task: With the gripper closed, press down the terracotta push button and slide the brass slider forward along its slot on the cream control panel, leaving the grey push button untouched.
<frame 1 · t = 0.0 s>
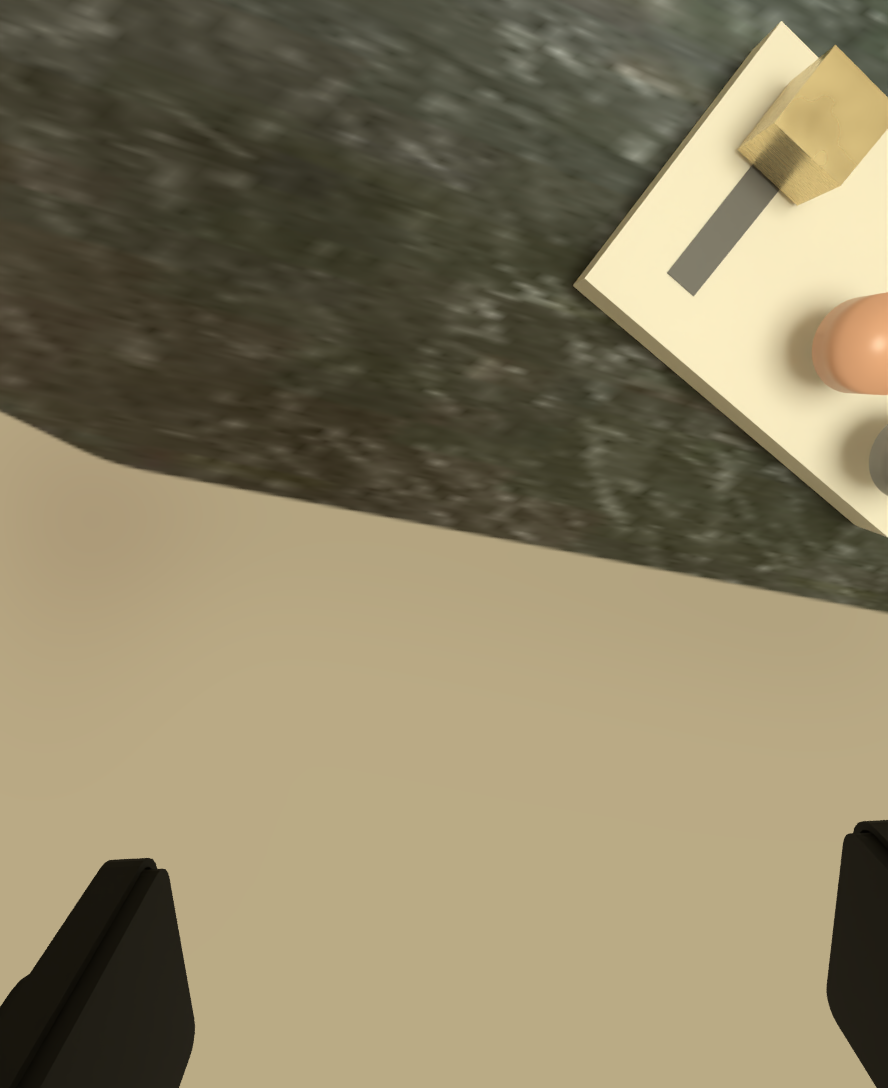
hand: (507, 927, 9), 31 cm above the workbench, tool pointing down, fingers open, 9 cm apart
terracotta button: (864, 345, 32), point 6 cm above the workbench, slide at 0.0 cm
brass slider: (814, 131, 30), point 5 cm above the workbench, slide at 0.0 cm
control panel: (807, 307, 37), on the workbench
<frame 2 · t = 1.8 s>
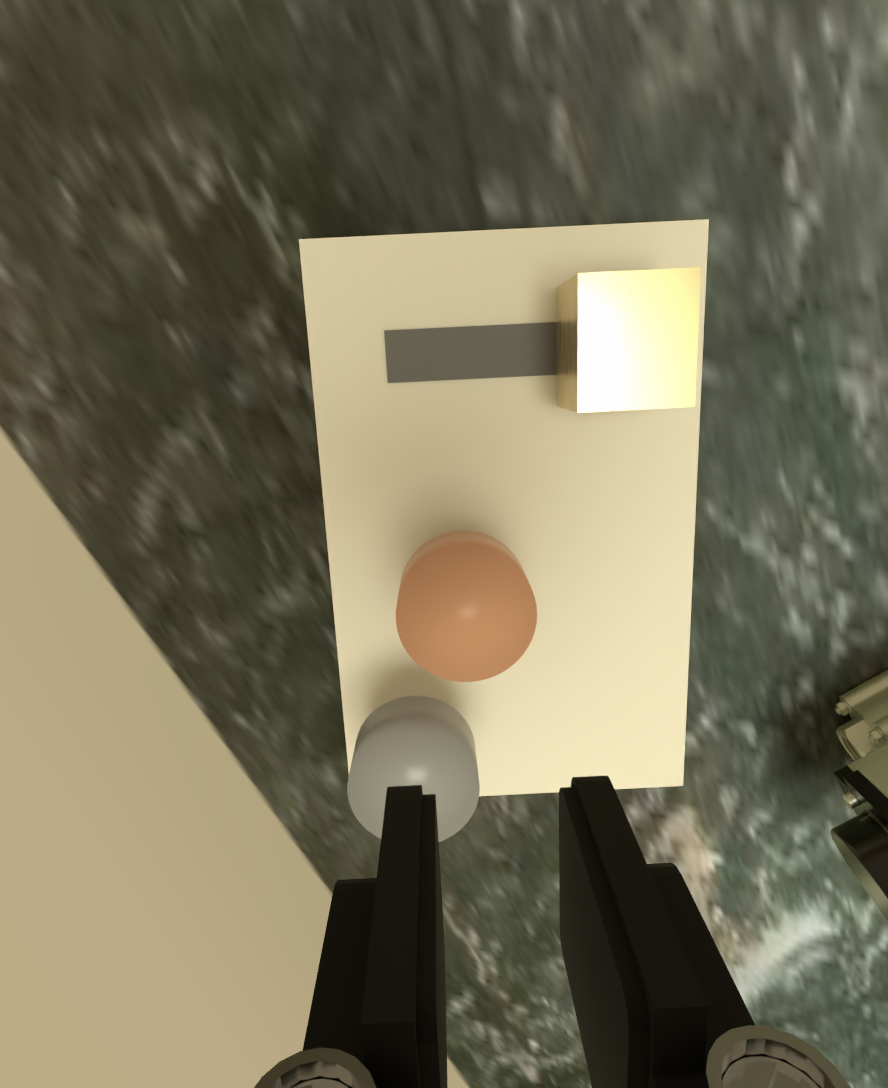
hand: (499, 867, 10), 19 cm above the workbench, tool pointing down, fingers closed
grey button: (415, 758, 24), point 6 cm above the workbench, slide at 0.0 cm
terracotta button: (463, 597, 23), point 6 cm above the workbench, slide at 0.0 cm
brass slider: (621, 343, 22), point 5 cm above the workbench, slide at 0.0 cm
control panel: (503, 524, 29), on the workbench
pneumatic valve: (876, 694, 31), on the workbench
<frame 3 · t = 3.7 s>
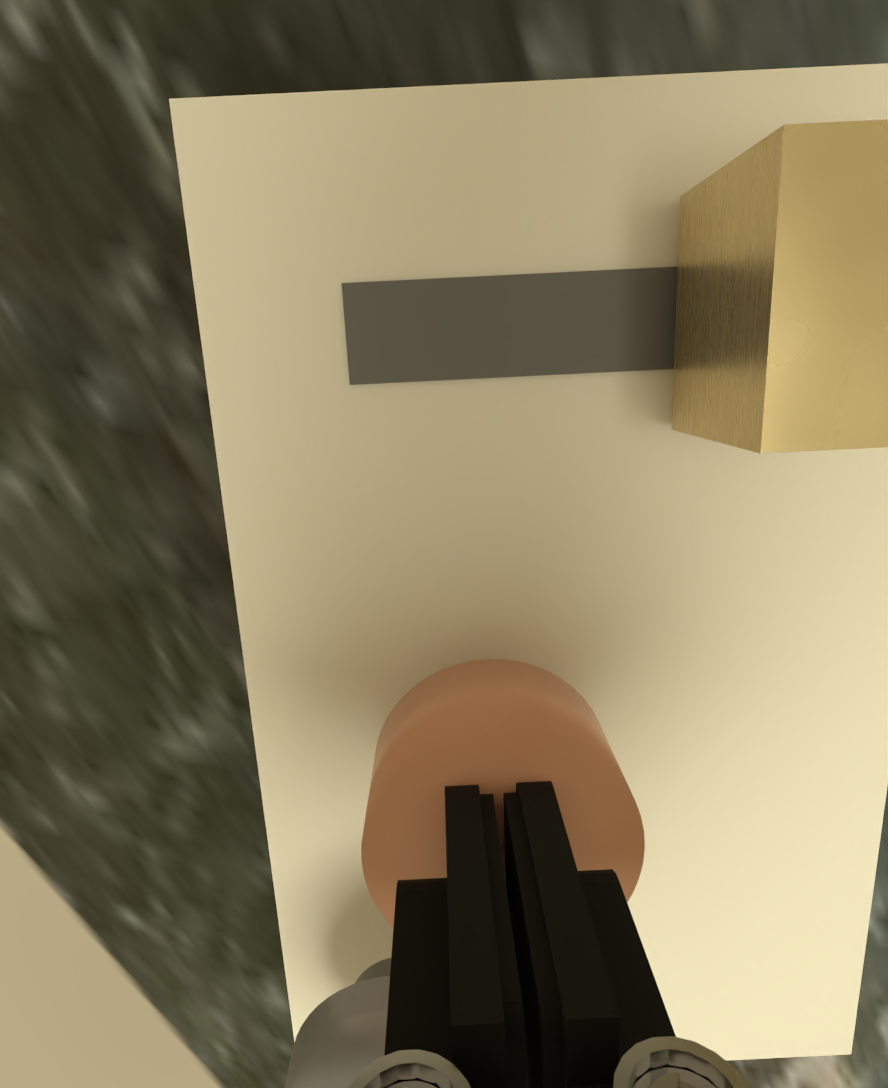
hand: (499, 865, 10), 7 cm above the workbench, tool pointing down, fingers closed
terracotta button: (492, 781, 12), point 5 cm above the workbench, slide at 0.9 cm, touching gripper
brass slider: (831, 304, 10), point 5 cm above the workbench, slide at 0.0 cm
control panel: (552, 618, 17), on the workbench
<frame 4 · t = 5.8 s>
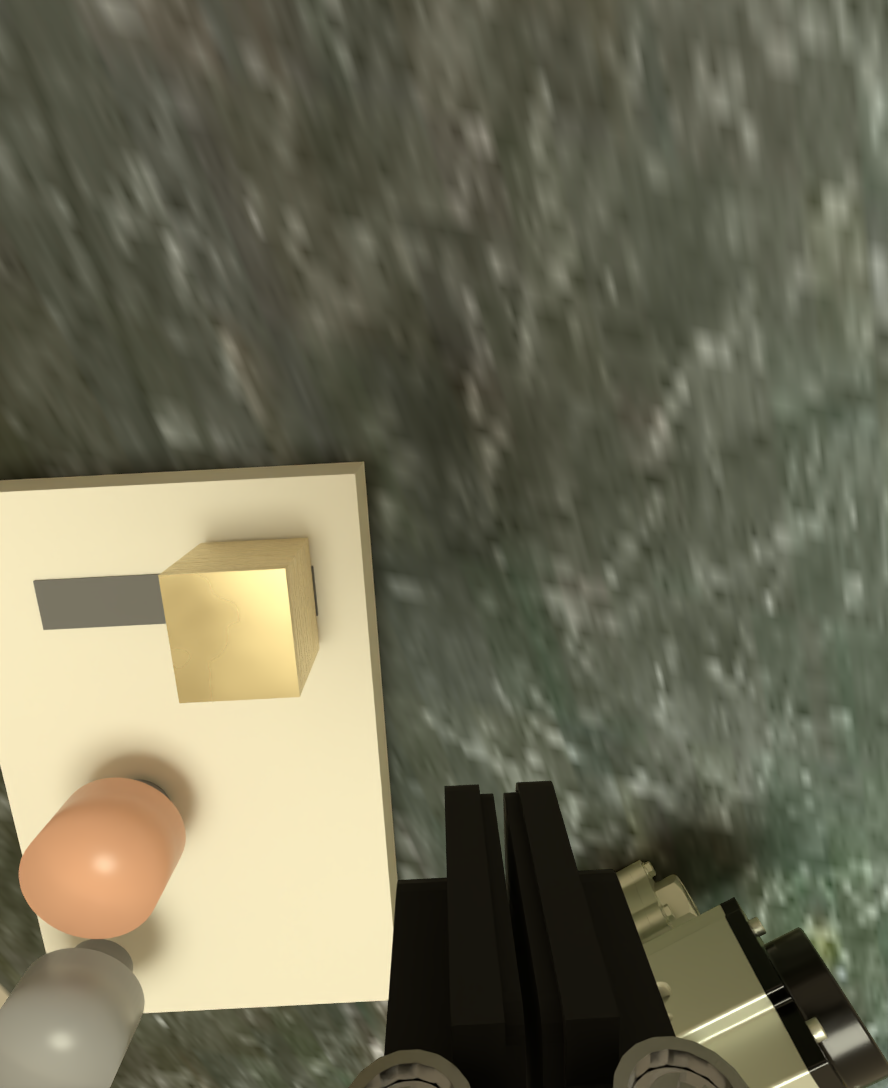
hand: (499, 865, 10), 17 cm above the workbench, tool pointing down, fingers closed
grey button: (75, 1010, 24), point 6 cm above the workbench, slide at 0.0 cm
terracotta button: (116, 841, 23), point 5 cm above the workbench, slide at 1.0 cm
brass slider: (247, 615, 21), point 5 cm above the workbench, slide at 0.0 cm
control panel: (217, 733, 28), on the workbench
pneumatic valve: (619, 888, 31), on the workbench
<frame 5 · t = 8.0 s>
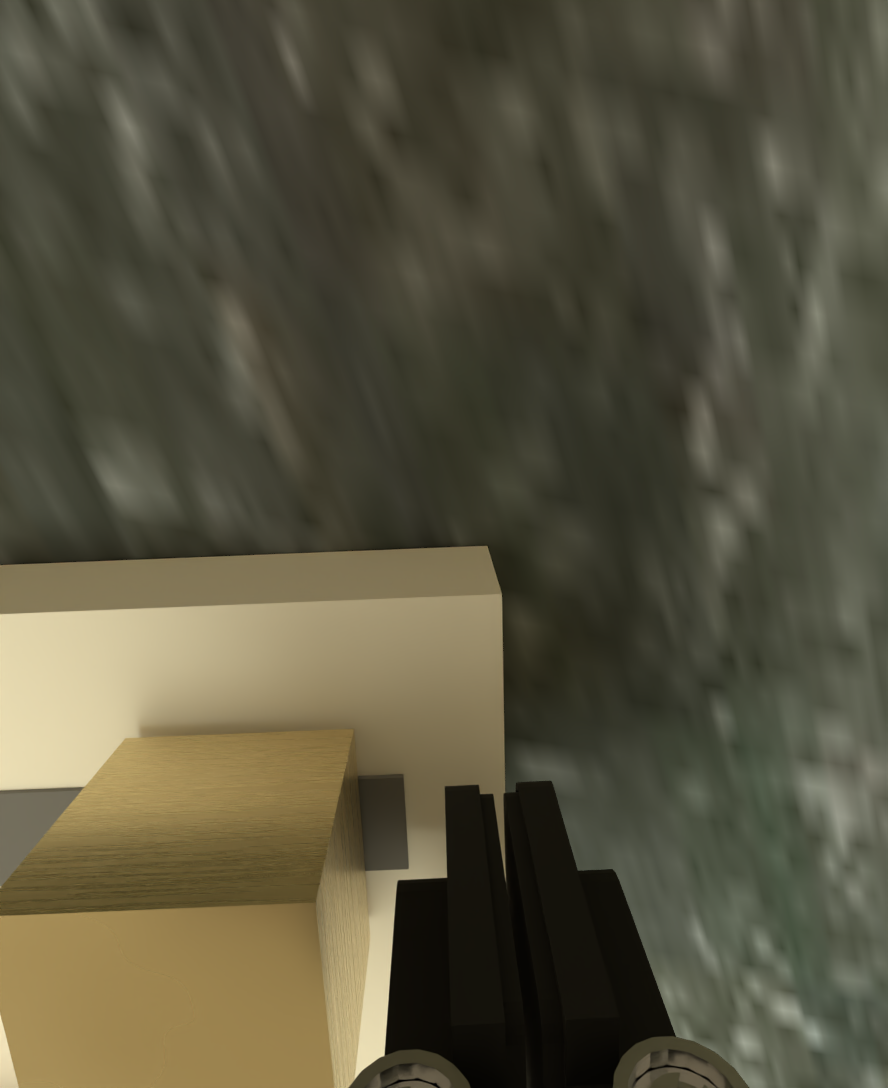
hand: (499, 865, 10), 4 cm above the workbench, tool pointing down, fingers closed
brass slider: (220, 929, 9), point 5 cm above the workbench, slide at 0.7 cm, touching gripper
control panel: (204, 1002, 16), on the workbench
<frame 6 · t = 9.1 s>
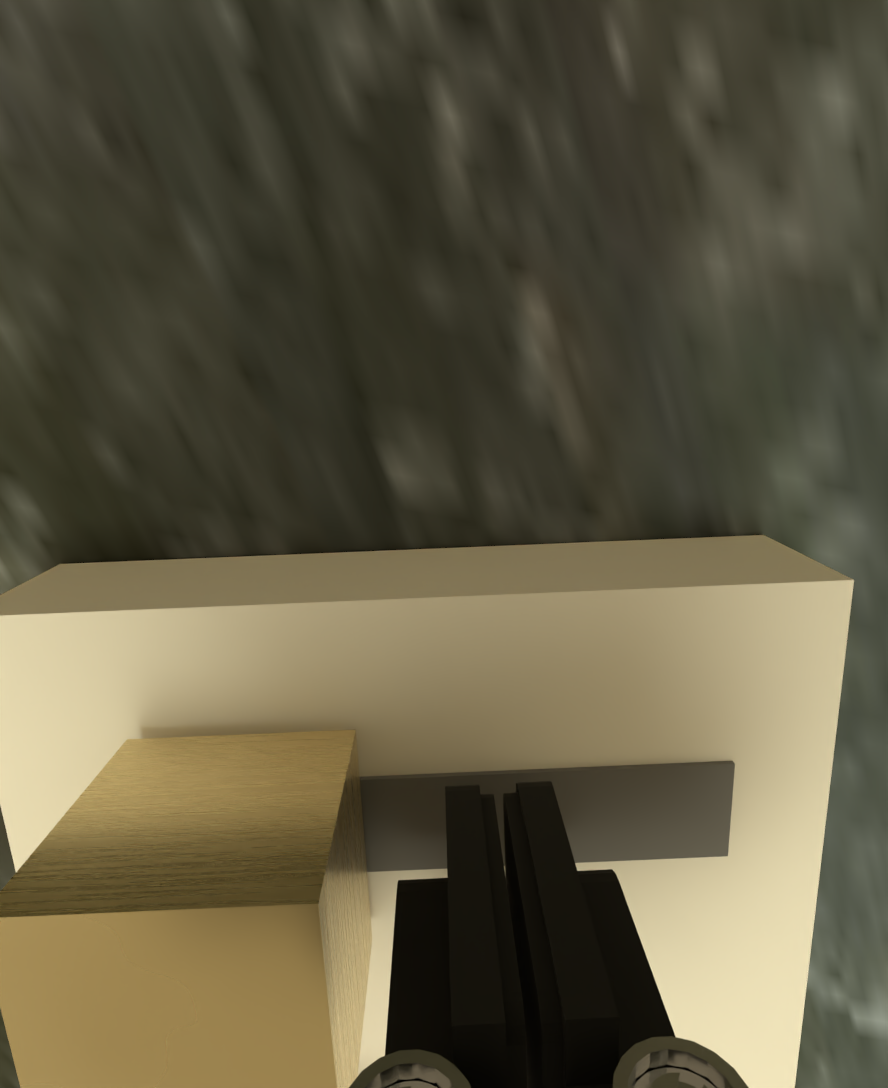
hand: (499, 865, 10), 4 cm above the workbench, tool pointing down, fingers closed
brass slider: (222, 930, 9), point 5 cm above the workbench, slide at 6.2 cm, touching gripper
control panel: (435, 993, 16), on the workbench
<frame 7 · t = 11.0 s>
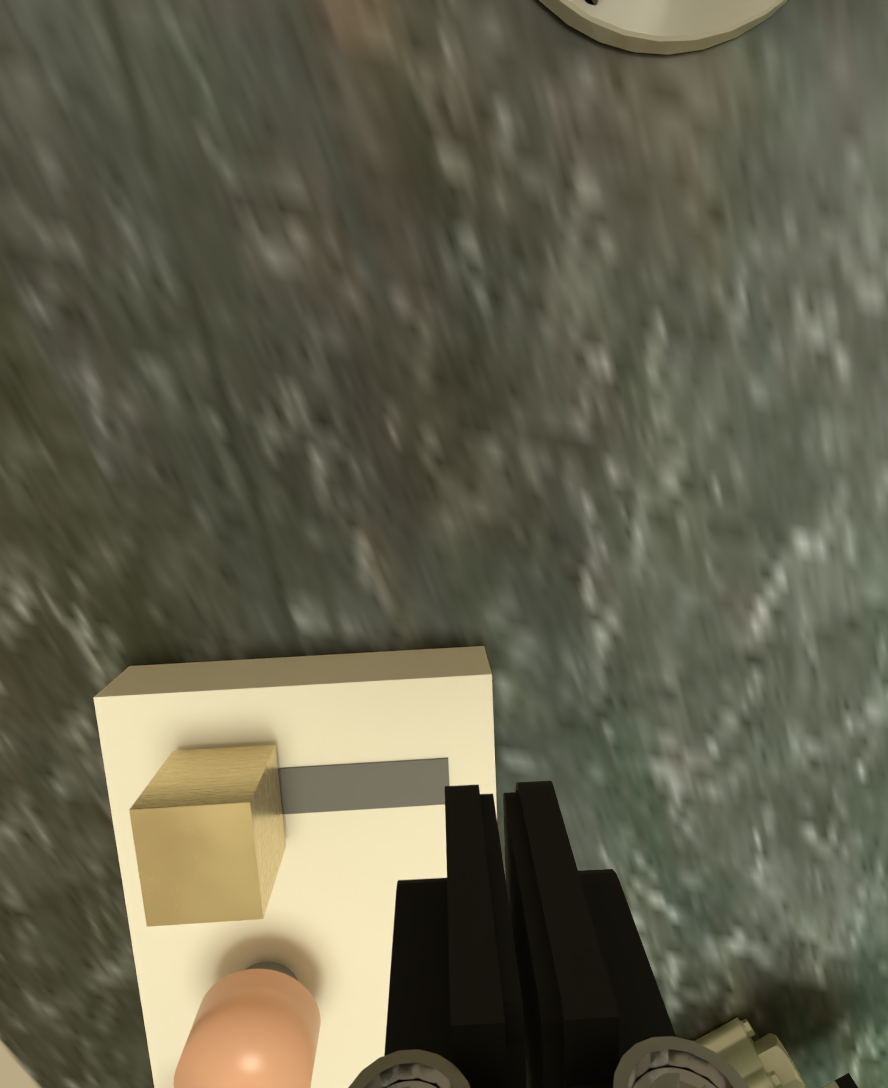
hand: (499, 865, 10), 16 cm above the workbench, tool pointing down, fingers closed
terracotta button: (256, 1033, 24), point 5 cm above the workbench, slide at 1.0 cm
brass slider: (215, 830, 22), point 5 cm above the workbench, slide at 6.1 cm
control panel: (330, 900, 29), on the workbench
pneumatic valve: (715, 1044, 31), on the workbench
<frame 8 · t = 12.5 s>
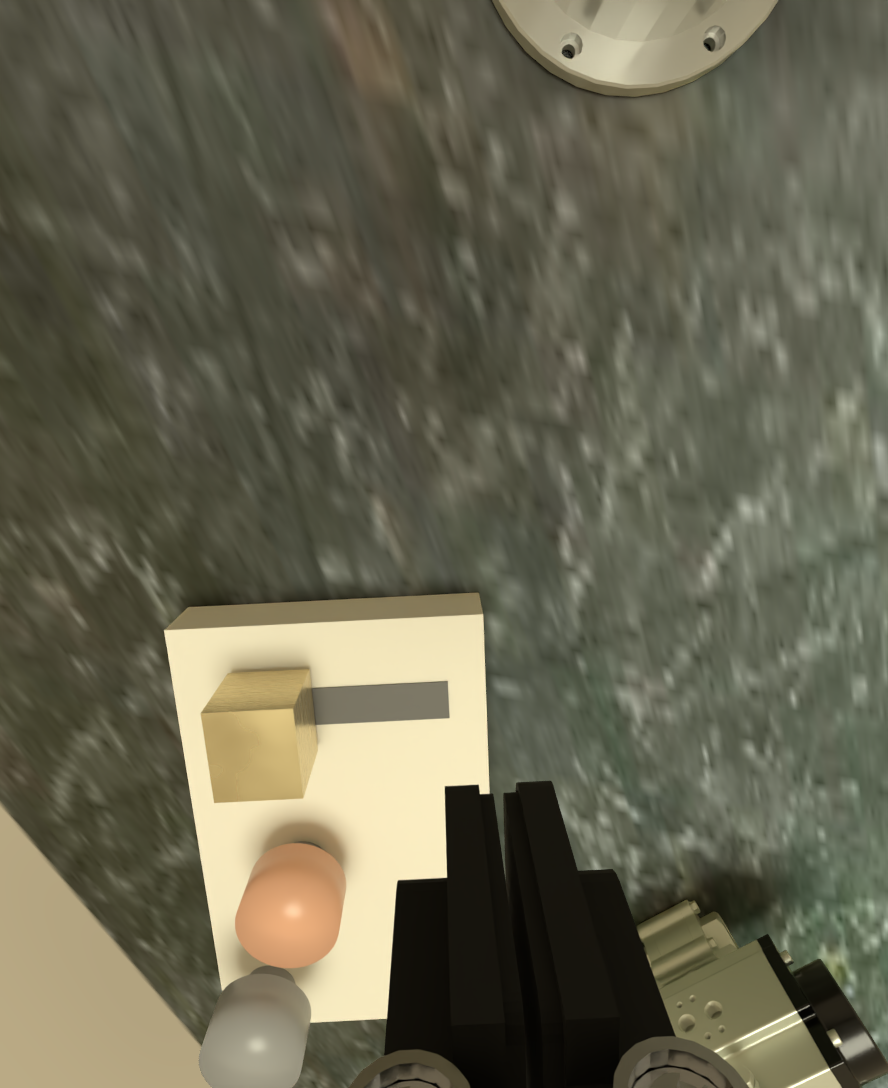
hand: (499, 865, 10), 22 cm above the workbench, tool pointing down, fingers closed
grey button: (261, 1022, 31), point 6 cm above the workbench, slide at 0.0 cm
terracotta button: (296, 892, 31), point 5 cm above the workbench, slide at 1.0 cm
brass slider: (263, 733, 29), point 5 cm above the workbench, slide at 6.1 cm
control panel: (352, 799, 35), on the workbench
pneumatic valve: (669, 921, 38), on the workbench
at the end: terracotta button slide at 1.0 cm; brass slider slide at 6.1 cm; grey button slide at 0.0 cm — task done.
